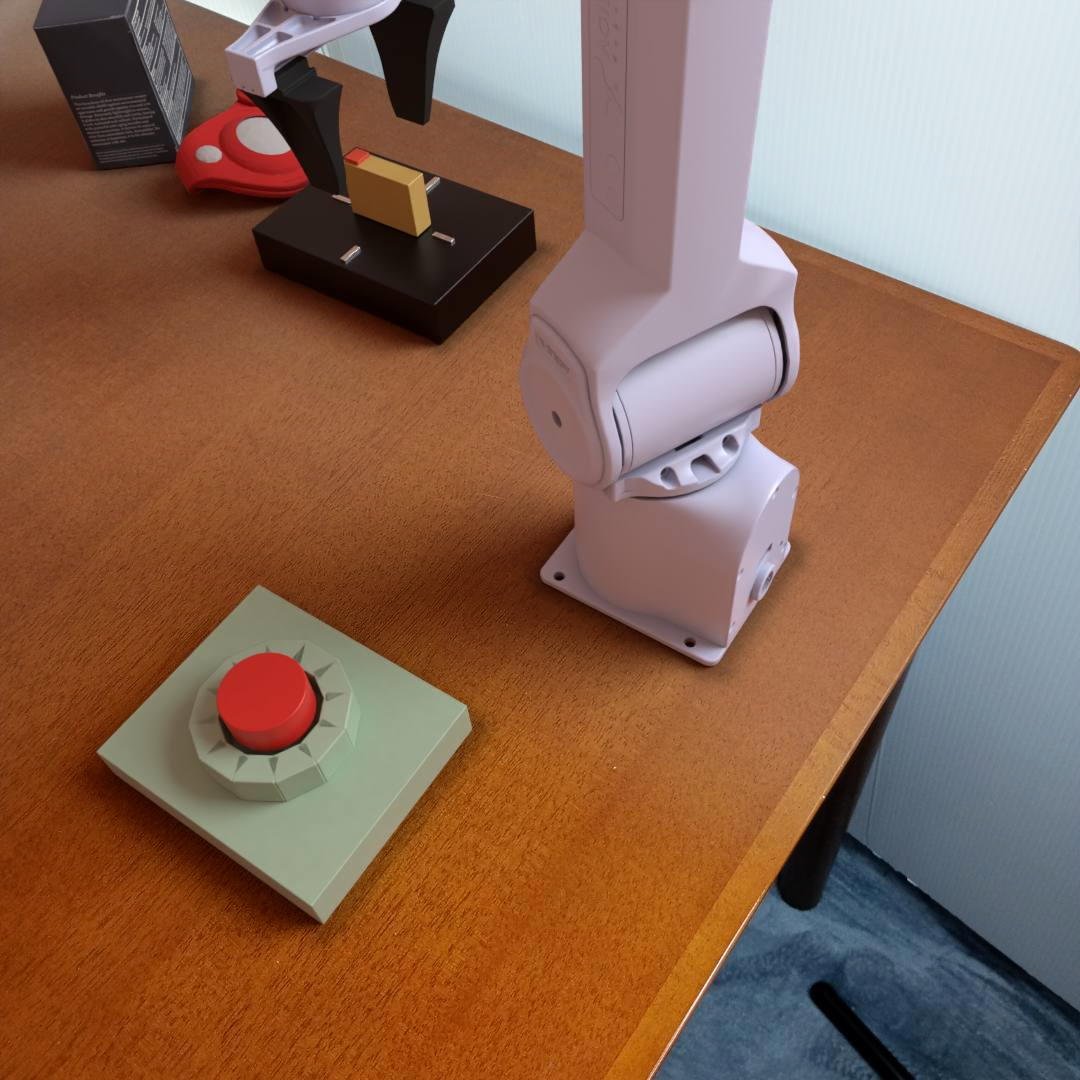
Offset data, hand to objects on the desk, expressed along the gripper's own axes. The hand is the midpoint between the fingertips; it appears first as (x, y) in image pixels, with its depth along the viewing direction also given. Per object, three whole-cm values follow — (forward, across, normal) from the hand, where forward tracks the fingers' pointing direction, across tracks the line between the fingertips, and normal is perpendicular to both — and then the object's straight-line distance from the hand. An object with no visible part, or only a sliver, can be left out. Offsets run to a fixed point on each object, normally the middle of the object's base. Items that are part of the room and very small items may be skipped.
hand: (372, 152), depth 60 cm
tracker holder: (+8, -4, -15) cm, 17 cm away
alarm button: (+4, +29, +17) cm, 34 cm away
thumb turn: (+5, 0, 0) cm, 5 cm away
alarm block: (+8, +29, +17) cm, 34 cm away
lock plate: (+8, 0, 0) cm, 8 cm away
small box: (+8, -3, -26) cm, 27 cm away
